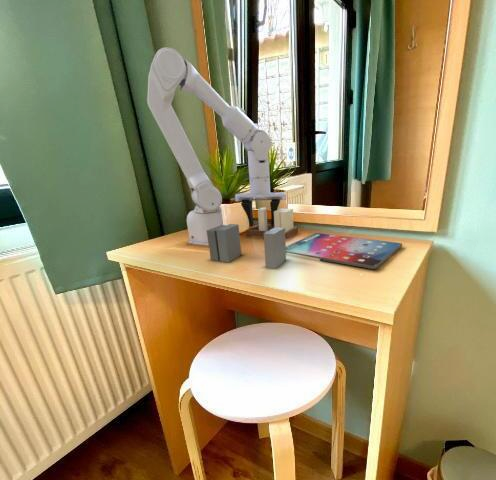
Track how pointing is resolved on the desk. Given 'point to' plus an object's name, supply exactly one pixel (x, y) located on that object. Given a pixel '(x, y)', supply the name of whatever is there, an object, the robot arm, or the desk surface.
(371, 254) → the tablet
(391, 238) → the desk surface
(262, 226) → the white book
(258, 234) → the book tray
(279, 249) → the grey books
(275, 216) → the white books
